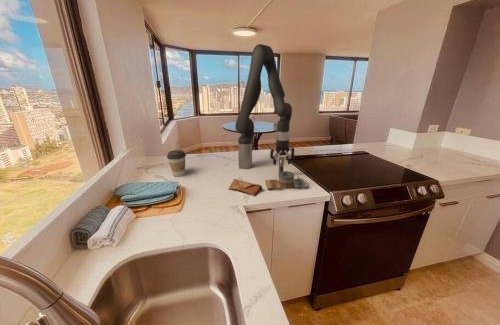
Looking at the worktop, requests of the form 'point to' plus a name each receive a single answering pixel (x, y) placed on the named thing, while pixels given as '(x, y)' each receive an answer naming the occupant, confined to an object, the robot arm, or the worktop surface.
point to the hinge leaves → (286, 182)
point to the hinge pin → (281, 164)
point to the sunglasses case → (245, 187)
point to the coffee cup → (177, 162)
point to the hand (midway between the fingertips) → (281, 164)
